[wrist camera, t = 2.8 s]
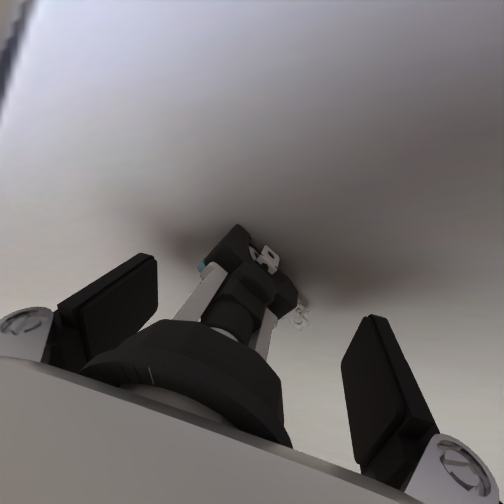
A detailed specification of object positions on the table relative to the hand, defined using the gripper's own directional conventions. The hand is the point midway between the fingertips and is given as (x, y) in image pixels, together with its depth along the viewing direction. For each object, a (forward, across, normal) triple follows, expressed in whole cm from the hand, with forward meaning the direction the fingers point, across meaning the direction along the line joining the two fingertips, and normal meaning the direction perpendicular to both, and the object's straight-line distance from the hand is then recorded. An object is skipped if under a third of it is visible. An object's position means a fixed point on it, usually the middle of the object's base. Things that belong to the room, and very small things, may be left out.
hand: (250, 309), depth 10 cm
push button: (+4, 0, 0) cm, 4 cm away
